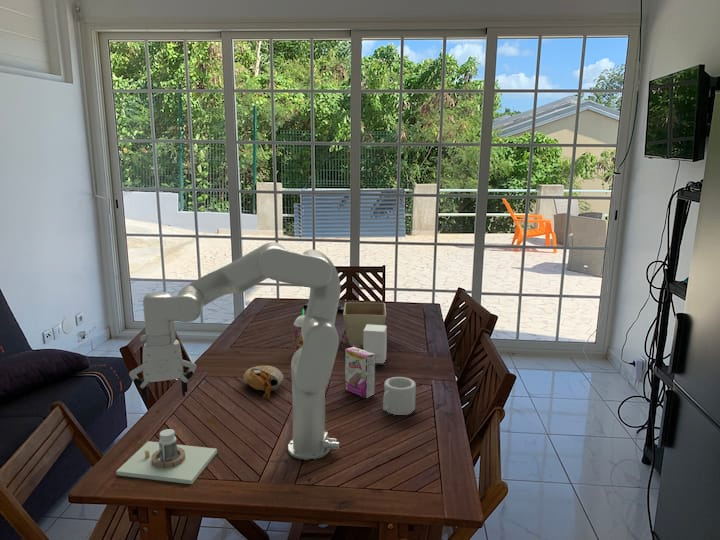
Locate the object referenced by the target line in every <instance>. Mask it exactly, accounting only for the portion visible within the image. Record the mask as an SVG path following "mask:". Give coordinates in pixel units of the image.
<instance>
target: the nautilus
mask: <svg viewBox="0 0 720 540" xmlns="http://www.w3.org/2000/svg"><path fill="white" fill-rule="evenodd" d="M283 374H284V373H282V371H281V370H279V369H278V368H277V367H275V366H271V365H256V366H253V367H250V368H248V369H247V370H246V371H245V372H244V374H243V376H242V378H243V381H244V382H246V383H247V384H248V385H249V386H250V387H251V388H252V389H254V390H260V391H264V392H265V393H264V394H263V395H262V400H264V399H265V398H266V399H265V400H266V401H267V399H270V396H271V393H272V392H273V391H277V389H278V388H279V387H280V386H281V385H280V384H281V383H282V381H283V378H284V375H283Z"/></svg>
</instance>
